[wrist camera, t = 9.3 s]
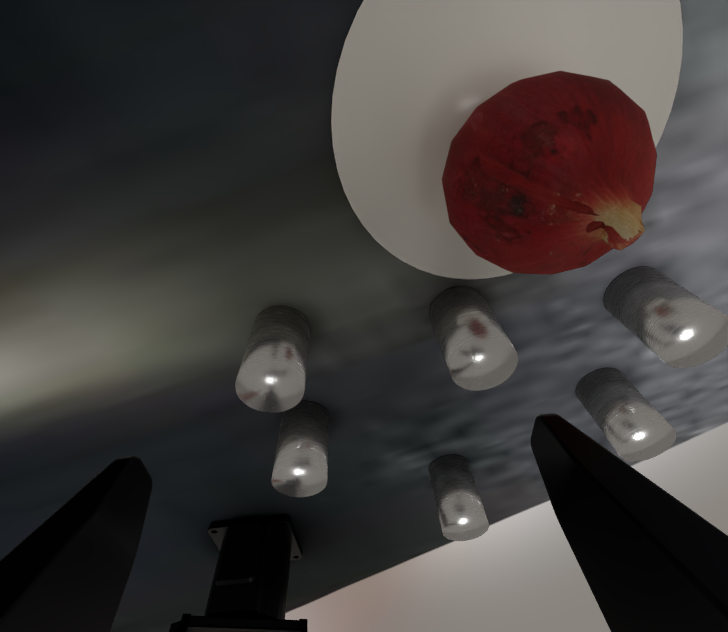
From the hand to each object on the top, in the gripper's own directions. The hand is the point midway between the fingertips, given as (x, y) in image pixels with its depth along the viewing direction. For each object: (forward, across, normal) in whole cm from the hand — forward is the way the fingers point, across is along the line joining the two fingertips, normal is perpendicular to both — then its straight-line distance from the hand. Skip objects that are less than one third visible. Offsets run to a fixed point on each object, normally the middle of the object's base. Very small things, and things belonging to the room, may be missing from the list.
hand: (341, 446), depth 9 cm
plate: (+11, -7, -5) cm, 14 cm away
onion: (+10, -7, -4) cm, 13 cm away
